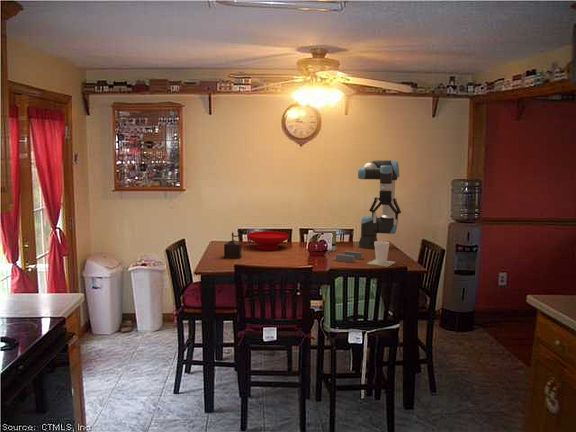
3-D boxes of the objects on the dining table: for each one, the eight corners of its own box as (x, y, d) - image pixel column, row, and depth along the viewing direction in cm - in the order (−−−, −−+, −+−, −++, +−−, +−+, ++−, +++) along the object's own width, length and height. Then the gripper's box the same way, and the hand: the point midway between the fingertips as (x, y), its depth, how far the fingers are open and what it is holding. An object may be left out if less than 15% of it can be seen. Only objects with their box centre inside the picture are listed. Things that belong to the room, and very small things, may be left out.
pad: (375, 260, 340) (375, 259, 340) (395, 262, 333) (395, 261, 333) (366, 264, 328) (366, 263, 328) (388, 266, 321) (388, 265, 321)
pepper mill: (240, 259, 341) (240, 231, 339) (223, 258, 342) (223, 231, 340) (244, 254, 356) (244, 228, 354) (227, 254, 357) (227, 228, 355)
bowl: (249, 244, 398) (249, 231, 397) (289, 244, 397) (289, 231, 396) (244, 251, 368) (244, 237, 367) (288, 252, 367) (288, 238, 366)
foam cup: (387, 261, 335) (387, 241, 334) (390, 264, 326) (391, 243, 325) (372, 261, 335) (372, 241, 333) (375, 264, 326) (375, 243, 324)
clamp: (343, 256, 353) (343, 250, 352) (362, 258, 346) (362, 252, 345) (333, 260, 339) (333, 254, 339) (352, 262, 332) (353, 256, 332)
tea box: (316, 251, 369) (316, 231, 367) (311, 249, 379) (312, 229, 377) (336, 250, 373) (336, 230, 371) (331, 248, 383) (331, 228, 381)
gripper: (364, 189, 332) (364, 222, 335) (402, 191, 319) (401, 226, 322) (369, 188, 338) (368, 221, 341) (406, 190, 325) (405, 224, 328)
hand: (384, 223), depth 332 cm, fingers open, 13 cm apart
